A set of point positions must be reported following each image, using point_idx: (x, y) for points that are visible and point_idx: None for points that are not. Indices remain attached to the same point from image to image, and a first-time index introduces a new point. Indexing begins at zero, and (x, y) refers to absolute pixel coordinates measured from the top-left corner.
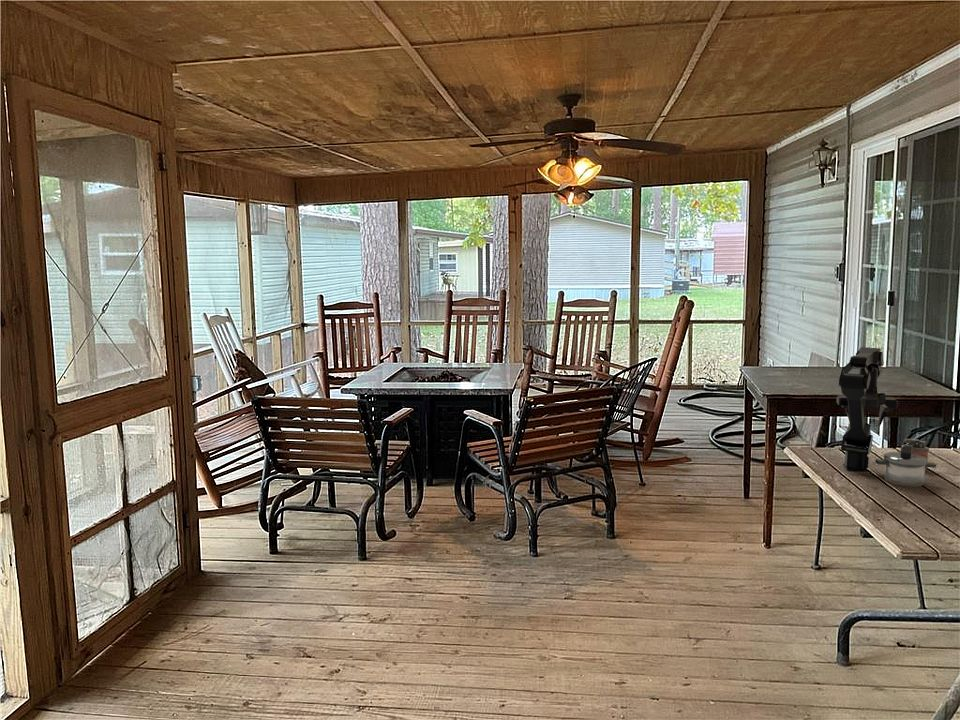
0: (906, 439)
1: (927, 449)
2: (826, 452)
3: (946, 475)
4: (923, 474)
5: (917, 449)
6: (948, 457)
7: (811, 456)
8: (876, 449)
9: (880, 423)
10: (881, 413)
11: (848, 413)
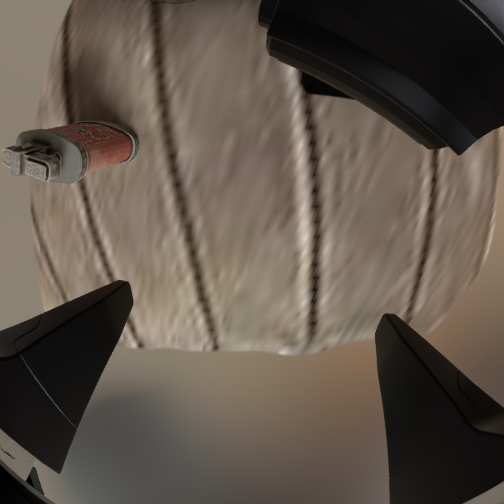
0: (42, 165)
1: (20, 135)
2: (379, 291)
3: (50, 83)
4: None
5: (44, 129)
6: (40, 272)
7: (455, 231)
8: (187, 338)
9: (107, 287)
10: (40, 364)
11: (477, 389)
